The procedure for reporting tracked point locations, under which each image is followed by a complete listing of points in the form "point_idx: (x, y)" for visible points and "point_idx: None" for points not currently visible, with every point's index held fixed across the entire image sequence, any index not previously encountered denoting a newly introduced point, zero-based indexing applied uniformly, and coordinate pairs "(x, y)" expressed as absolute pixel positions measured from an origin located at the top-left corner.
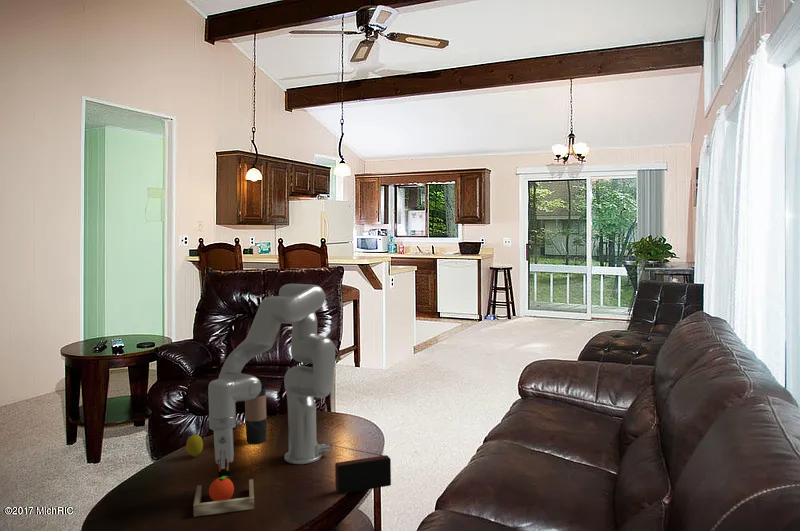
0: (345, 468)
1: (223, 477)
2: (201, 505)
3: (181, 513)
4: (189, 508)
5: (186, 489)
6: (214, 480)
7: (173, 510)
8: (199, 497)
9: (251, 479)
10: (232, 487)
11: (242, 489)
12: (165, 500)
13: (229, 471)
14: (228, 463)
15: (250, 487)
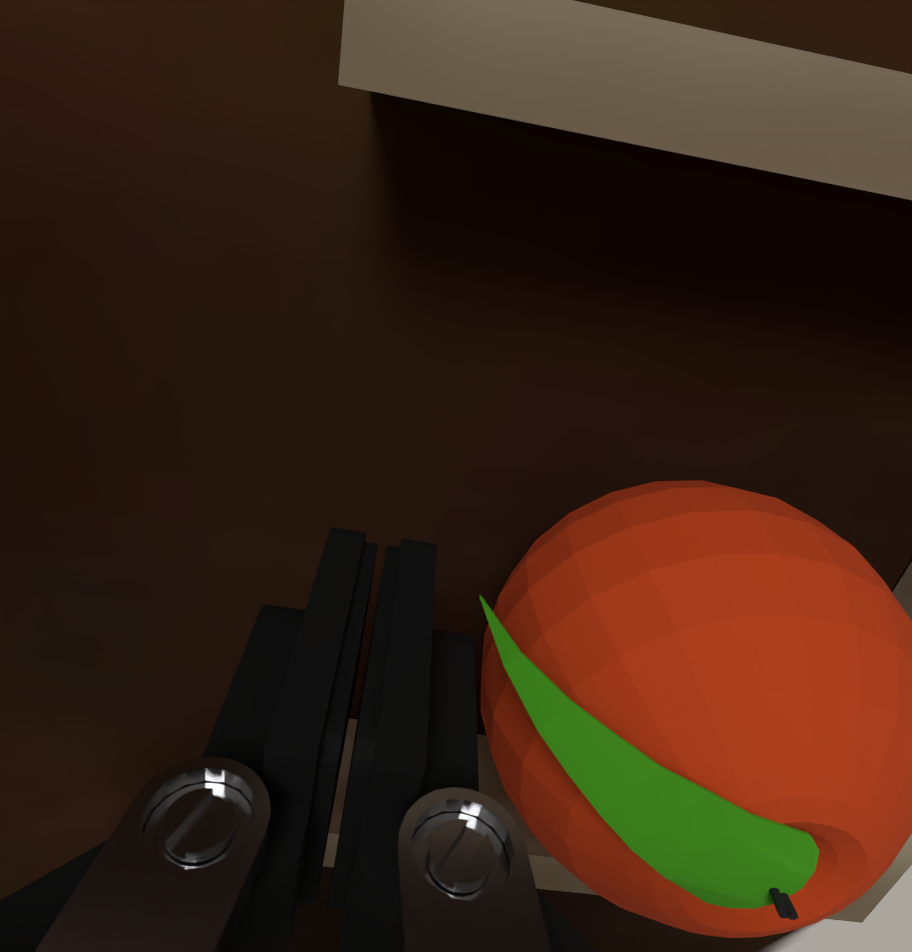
0: None
1: (730, 854)
2: (900, 862)
3: None
4: None
5: (93, 804)
6: (666, 923)
7: (552, 900)
8: None
9: (356, 8)
10: (867, 586)
11: (319, 217)
12: (305, 928)
13: (424, 726)
14: (229, 926)
15: (850, 153)
